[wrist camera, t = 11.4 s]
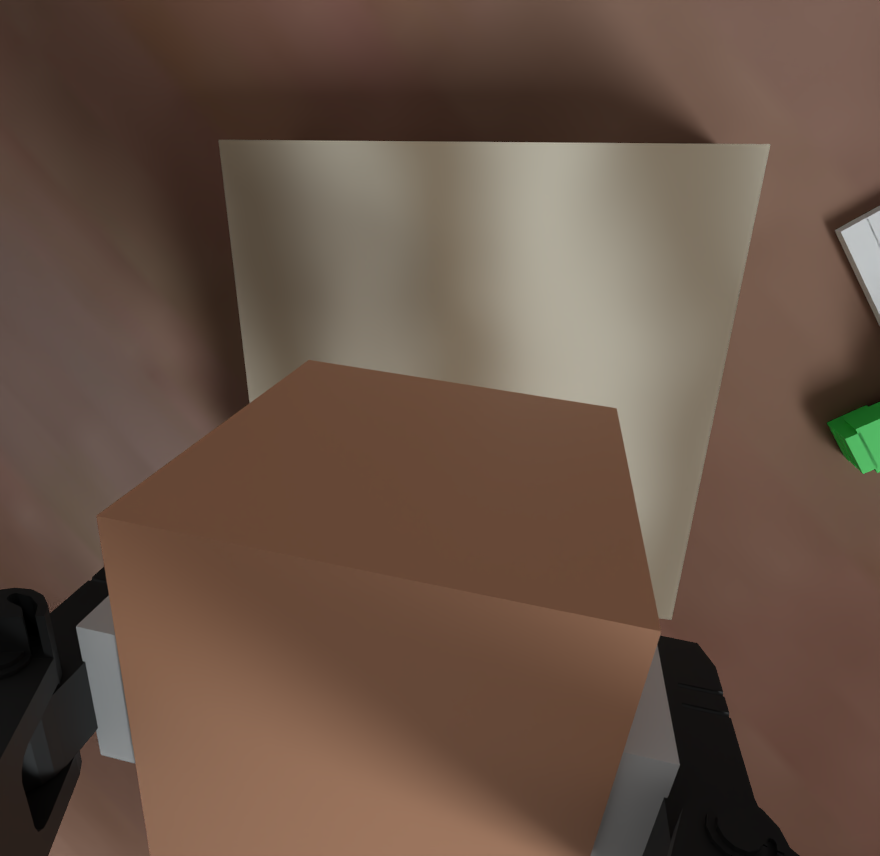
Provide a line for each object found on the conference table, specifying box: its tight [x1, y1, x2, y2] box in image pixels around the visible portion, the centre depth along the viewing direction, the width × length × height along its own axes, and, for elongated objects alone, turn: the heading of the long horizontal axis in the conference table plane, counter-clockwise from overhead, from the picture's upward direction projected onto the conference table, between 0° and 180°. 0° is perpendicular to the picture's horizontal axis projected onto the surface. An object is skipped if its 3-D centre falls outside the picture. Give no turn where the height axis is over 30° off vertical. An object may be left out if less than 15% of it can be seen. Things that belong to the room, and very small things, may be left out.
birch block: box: [218, 140, 770, 620], centre depth 23 cm, size 16×16×6 cm
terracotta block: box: [97, 360, 661, 856], centre depth 12 cm, size 7×7×7 cm
